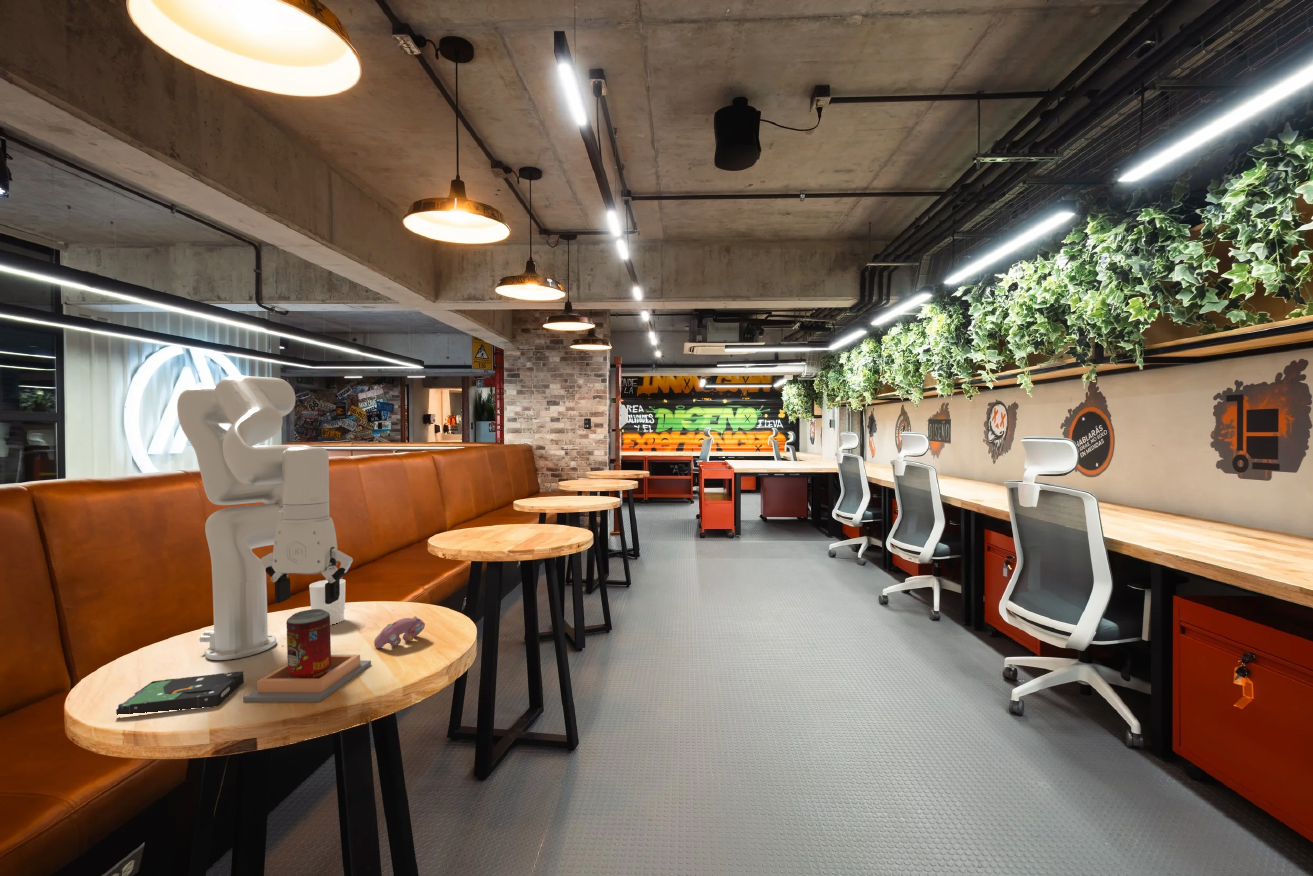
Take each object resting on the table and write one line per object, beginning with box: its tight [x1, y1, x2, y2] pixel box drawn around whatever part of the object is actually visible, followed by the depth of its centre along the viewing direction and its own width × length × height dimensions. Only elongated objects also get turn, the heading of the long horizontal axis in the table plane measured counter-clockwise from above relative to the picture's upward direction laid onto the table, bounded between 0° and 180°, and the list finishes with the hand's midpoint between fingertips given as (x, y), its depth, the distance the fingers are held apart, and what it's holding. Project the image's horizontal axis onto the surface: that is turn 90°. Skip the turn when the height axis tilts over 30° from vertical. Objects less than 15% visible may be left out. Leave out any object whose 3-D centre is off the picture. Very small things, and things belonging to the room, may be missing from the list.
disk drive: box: [115, 670, 245, 715], centre depth 101 cm, size 10×3×15 cm
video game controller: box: [373, 616, 426, 649], centre depth 126 cm, size 10×5×7 cm, turn 144°
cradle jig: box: [242, 654, 372, 703], centre depth 107 cm, size 14×16×3 cm
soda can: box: [285, 609, 332, 679], centre depth 107 cm, size 7×7×12 cm
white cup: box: [308, 578, 346, 626], centre depth 142 cm, size 8×8×10 cm
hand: (307, 601), depth 107 cm, fingers open, 9 cm apart
